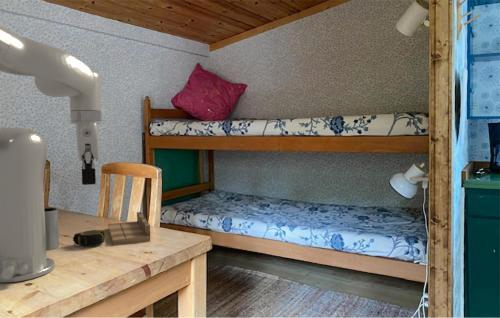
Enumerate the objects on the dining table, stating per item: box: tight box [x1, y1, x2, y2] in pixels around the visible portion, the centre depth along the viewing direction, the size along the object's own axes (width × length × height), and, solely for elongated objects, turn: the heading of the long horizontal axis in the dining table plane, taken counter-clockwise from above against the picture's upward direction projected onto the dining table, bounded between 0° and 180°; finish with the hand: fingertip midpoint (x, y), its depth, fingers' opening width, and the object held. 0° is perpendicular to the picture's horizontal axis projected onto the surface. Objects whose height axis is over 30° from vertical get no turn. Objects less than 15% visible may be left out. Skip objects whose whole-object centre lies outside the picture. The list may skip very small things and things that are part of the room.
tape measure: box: [72, 229, 106, 247], centre depth 101 cm, size 7×7×4 cm
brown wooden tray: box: [107, 211, 151, 246], centre depth 111 cm, size 19×10×4 cm, turn 24°
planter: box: [44, 207, 60, 251], centre depth 99 cm, size 4×4×10 cm
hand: (88, 181), depth 100 cm, fingers open, 9 cm apart
